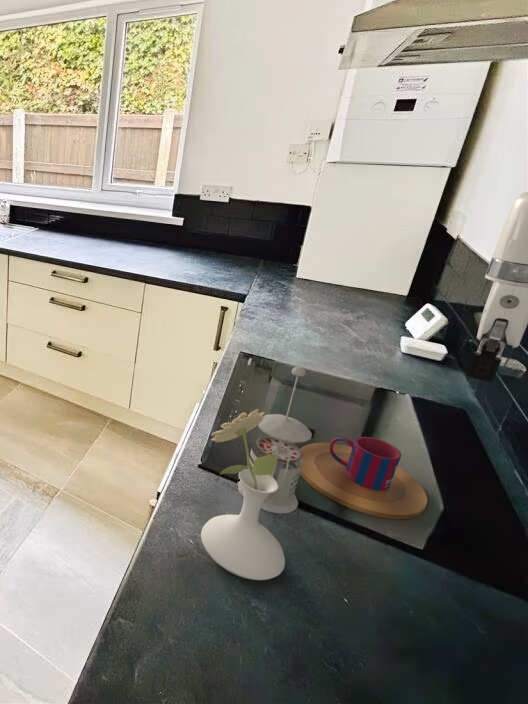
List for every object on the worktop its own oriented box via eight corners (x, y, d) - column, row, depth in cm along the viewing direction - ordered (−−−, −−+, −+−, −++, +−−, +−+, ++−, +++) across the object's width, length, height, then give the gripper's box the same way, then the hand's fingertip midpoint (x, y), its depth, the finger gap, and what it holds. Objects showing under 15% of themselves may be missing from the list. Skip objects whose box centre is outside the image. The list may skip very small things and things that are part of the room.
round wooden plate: (435, 484, 85) (437, 479, 84) (412, 538, 72) (414, 533, 72) (315, 435, 99) (316, 431, 99) (278, 474, 86) (279, 469, 86)
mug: (384, 496, 80) (396, 464, 78) (320, 468, 87) (329, 437, 84) (393, 479, 84) (405, 448, 82) (331, 453, 91) (340, 424, 89)
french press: (296, 485, 84) (331, 362, 75) (301, 528, 74) (343, 393, 65) (237, 468, 88) (264, 350, 79) (235, 508, 78) (266, 377, 69)
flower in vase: (258, 526, 74) (293, 390, 66) (299, 589, 64) (347, 436, 55) (178, 525, 74) (203, 389, 65) (206, 587, 63) (240, 435, 55)
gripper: (555, 287, 64) (509, 394, 70) (556, 269, 75) (516, 363, 81) (482, 276, 69) (444, 377, 75) (492, 261, 80) (459, 350, 86)
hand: (482, 370), depth 78 cm, fingers open, 9 cm apart
